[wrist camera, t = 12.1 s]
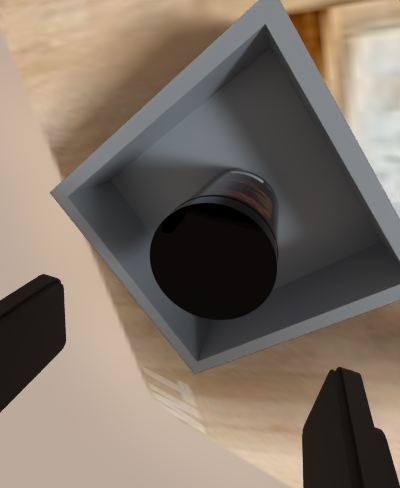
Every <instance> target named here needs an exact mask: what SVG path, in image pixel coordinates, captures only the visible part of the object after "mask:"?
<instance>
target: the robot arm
mask: <svg viewBox="0 0 400 488" xmlns="http://www.w3.org/2000/svg"><path fill="white" fill-rule="evenodd" d="M65 343H66V328H65V308H64V288H63V285H62V284H61V282H60V280H59V279H57V278H55V277H51V276H48V275H45V274H42V275H40V276H38V277H37V278H35V279H33V280H32V281H30V282H29V283H27V284H25V285H24V286H23V287H21V288H19V289H18V290H16V291H15V292H13V293H11V294H10V295H8V296H6V297H5V298H3V299H2V300H0V412H1V411H2V410H3V409H4V408H5V407H6V406H7V405H8V404H9V403H10V402H11V401H12V400H13V399H14V398H15V397H16V396H17V395H18V394H19V393H20V392H21V391H22V390H23V389H24V388H25V387H26V386H27V385H28V384H29V383H30V382H31V381H32V380H33V379H34V378H35V377H36V376H37V375H38V374H39V373H40V372H41V370H43V368H45V366H47V364H48V363H49V362H50V361H51V360H52V359H53V358H54V357H55V356H56V355H57V354H58V353H59V352H60V351H61V350H62V349H63V347H64V345H65ZM302 449H303V487H304V488H400V485H399V481H398V478H397V474H396V471H395V467H394V464H393V460H392V457H391V453H390V450H389V446H388V443H387V439H386V437H385V434H384V433H383V431H382V430H380V429H378V428H375V427H374V424H373V420H372V416H371V412H370V408H369V405H368V401H367V397H366V393H365V389H364V385H363V381H362V377H361V375H360V374H359V373H357V372H354V371H351V370H348V369H345V368H341V367H338V368H337V370H336V371H335V370H330V371H329V373H328V375H327V378H326V380H325V382H324V384H323V386H322V388H321V390H320V393H319V395H318V397H317V399H316V401H315V403H314V405H313V408H312V410H311V412H310V414H309V416H308V418H307V421H306V423H305V425H304V428H303V434H302Z"/></svg>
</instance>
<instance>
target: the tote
mask: <svg viewBox="0 0 400 488" xmlns="http://www.w3.org/2000/svg"><path fill="white" fill-rule="evenodd" d="M228 170H246V171H249V172H252V173H255V174H257V175H259V176H260V177H262V178H263V179H264V180H265V181H267V182H268V183H269V185H270V186H271V187H272V189H273V190H274V192H275V194H276V196H277V199H278V203H279V228H278V264H277V276H276V281H275V284H274V287H273V289H272V291H271V293H270V295H269V296H268V298H267V299H266V300H265V302H264V303H263V304H262V305H261V306H259V307H258V308H257V309H256V310H254V311H252V312H251V313H249V314H247V315H245V316H242V317H239V318H235V319H230V320H211V319H205V318H201V317H198V316H195V315H192V314H190V313H188V312H186V311H184V310H183V309H181V308H180V307H178V306H177V305H175V304H174V303H173V302H172V301H171V300H170V299H169V298H168V297H167V296H166V295H165V294H164V293H163V291H162V290H161V289H160V287H159V286H158V284H157V282H156V280H155V278H154V275H153V273H152V269H151V265H150V246H151V241H152V238H153V236H154V233H155V231H156V229H157V228H158V226H159V225H160V224H161V222H162V221H163V220H164V219H165V218H166V217H167V216H169V215H170V214H171V213H172V211H173V210H174V209H176V208H177V207H178V206H179V205H181V204H182V203H183V202H185V201H186V200H187V199H189V198H190V197H191V196H192V195H193V194H194V193H195V192H196V191H197V190H199V189H200V188H201V187H202V186H203V185H204V184H205V183H206V182H208V181H209V180H210V179H211V178H212V177H214V176H215V175H217V174H219V173H221V172H224V171H228ZM50 193H51V195H52V196H53V197H54V198H55V200H56V201H57V202H58V203H59V205H60V206H61V207H62V209H63V210H64V211H65V212H66V214H67V215H68V216H69V217H70V219H71V220H72V221H73V222H74V223H75V225H76V226H77V227H78V229H79V230H80V231H81V232H82V234H83V235H84V236H85V237H86V239H87V240H88V241H89V242H90V244H91V245H92V246H93V247H94V249H95V250H96V251H97V252H98V254H99V255H100V256H101V257H102V259H103V260H104V261H105V263H106V264H107V265H108V266H109V268H110V269H111V270H112V271H113V273H114V274H115V275H116V276H117V278H118V279H119V280H120V281H121V283H122V284H123V285H124V286H125V288H126V289H127V290H128V291H129V293H130V294H131V295H132V296H133V298H134V299H135V300H136V301H137V303H138V304H139V305H140V306H141V308H142V309H143V310H144V311H145V313H146V314H147V315H148V316H149V318H150V319H151V320H152V321H153V323H154V324H155V325H156V327H157V328H158V329H159V330H160V332H161V333H162V334H163V335H164V337H165V338H166V339H167V340H168V342H169V343H170V344H171V345H172V347H173V348H174V349H175V350H176V352H177V353H178V354H179V355H180V357H181V358H182V359H183V360H184V362H185V363H186V364H187V365H188V367H189V368H190V369H191V370H192V372H193V373H194V374H197V373H199V372H202V371H205V370H208V369H211V368H213V367H216V366H219V365H222V364H224V363H227V362H230V361H233V360H235V359H238V358H241V357H244V356H246V355H249V354H252V353H255V352H258V351H260V350H263V349H266V348H269V347H271V346H274V345H277V344H280V343H282V342H285V341H288V340H291V339H293V338H296V337H299V336H302V335H304V334H307V333H310V332H313V331H316V330H318V329H321V328H324V327H327V326H329V325H332V324H335V323H338V322H340V321H343V320H346V319H349V318H351V317H354V316H357V315H360V314H362V313H365V312H368V311H371V310H374V309H376V308H379V307H382V306H385V305H387V304H390V303H393V302H396V301H398V300H400V219H399V217H398V215H397V213H396V211H395V209H394V208H393V206H392V204H391V202H390V200H389V199H388V197H387V195H386V193H385V191H384V189H383V188H382V186H381V184H380V182H379V180H378V178H377V177H376V175H375V173H374V171H373V169H372V167H371V166H370V164H369V162H368V160H367V158H366V157H365V155H364V153H363V151H362V149H361V147H360V146H359V144H358V142H357V140H356V138H355V136H354V135H353V133H352V131H351V129H350V127H349V126H348V124H347V122H346V120H345V118H344V116H343V115H342V113H341V111H340V109H339V107H338V105H337V104H336V102H335V100H334V98H333V96H332V94H331V93H330V91H329V89H328V87H327V85H326V84H325V82H324V80H323V78H322V76H321V74H320V73H319V71H318V69H317V67H316V65H315V63H314V62H313V60H312V58H311V56H310V54H309V53H308V51H307V49H306V47H305V45H304V43H303V42H302V40H301V38H300V36H299V34H298V32H297V31H296V29H295V27H294V25H293V23H292V22H291V20H290V18H289V16H288V14H287V12H286V11H285V9H284V7H283V5H282V3H281V1H280V0H259V1H258V2H256V3H255V4H254V5H253V6H252V7H251V8H250V9H249V10H248V11H247V12H246V13H244V14H243V15H242V16H241V17H240V18H239V19H238V20H237V21H236V22H235V23H234V24H233V25H231V26H230V27H229V28H228V29H227V30H226V31H225V32H224V33H223V34H222V35H221V36H219V37H218V38H217V39H216V40H215V41H214V42H213V43H212V44H211V45H210V46H209V47H208V48H206V49H205V50H204V51H203V52H202V53H201V54H200V55H199V56H198V57H197V58H196V59H194V60H193V61H192V62H191V63H190V64H189V65H188V66H187V67H186V68H185V69H184V70H183V71H181V72H180V73H179V74H178V75H177V76H176V77H175V78H174V79H173V80H172V81H171V82H169V83H168V84H167V85H166V86H165V87H164V88H163V89H162V90H161V91H160V92H159V93H158V94H156V95H155V96H154V97H153V98H152V99H151V100H150V101H149V102H148V103H147V104H146V105H144V106H143V107H142V108H141V109H140V110H139V111H138V112H137V113H136V114H135V115H134V116H133V117H131V118H130V119H129V120H128V121H127V122H126V123H125V124H124V125H123V126H122V127H121V128H119V129H118V130H117V131H116V132H115V133H114V134H113V135H112V136H111V137H110V138H109V139H108V140H106V141H105V142H104V143H103V144H102V145H101V146H100V147H99V148H98V149H97V150H96V151H95V152H93V153H92V154H91V155H90V156H89V157H88V158H87V159H86V160H85V161H84V162H83V163H81V164H80V165H79V166H78V167H77V168H76V169H75V170H74V171H73V172H72V173H71V174H70V175H68V176H67V177H66V178H65V179H64V180H63V181H62V182H61V183H60V184H59V185H58V186H56V188H54V189H53V190H52V191H51V192H50Z"/></svg>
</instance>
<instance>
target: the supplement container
mask: <svg viewBox="0 0 400 488" xmlns="http://www.w3.org/2000/svg"><path fill="white" fill-rule="evenodd" d="M278 228H279V203H278V199H277V196H276V194H275V192H274V190H273V189H272V187H271V186H270V185H269V183H268V182H267V181H265V180H264V179H263V178H262V177H260V176H259V175H257V174H255V173H252V172H249V171H246V170H228V171H224V172H221V173H219V174H217V175H215V176H214V177H212V178H211V179H210V180H209V181H208V182H206V183H205V184H204V185H203V186H202V187H201V188H200V189H199V190H197V191H196V192H195V193H194V194H193V195H192V196H191V197H190V198H189V199H187V200H186V201H185V202H183V203H182V204H181V205H179V206H178V207H177V208H176V209H174V210H173V211H172V213H171V214H170V215H169V216H167V217H166V218H165V219H164V220H163V221H162V222H161V224H160V225H159V226H158V228H157V229H156V231H155V233H154V236H153V238H152V241H151V246H150V265H151V269H152V273H153V275H154V278H155V280H156V282H157V284H158V286H159V287H160V289H161V290H162V291H163V293H164V294H165V295H166V296H167V297H168V298H169V299H170V300H171V301H172V302H173V303H174V304H175V305H177V306H178V307H180V308H181V309H183V310H184V311H186V312H188V313H190V314H192V315H195V316H198V317H201V318H205V319H211V320H230V319H235V318H239V317H242V316H245V315H247V314H249V313H251V312H252V311H254V310H256V309H257V308H258V307H259V306H261V305H262V304H263V303H264V302H265V300H266V299H267V298H268V296H269V295H270V293H271V291H272V289H273V287H274V284H275V281H276V276H277V264H278Z"/></svg>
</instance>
